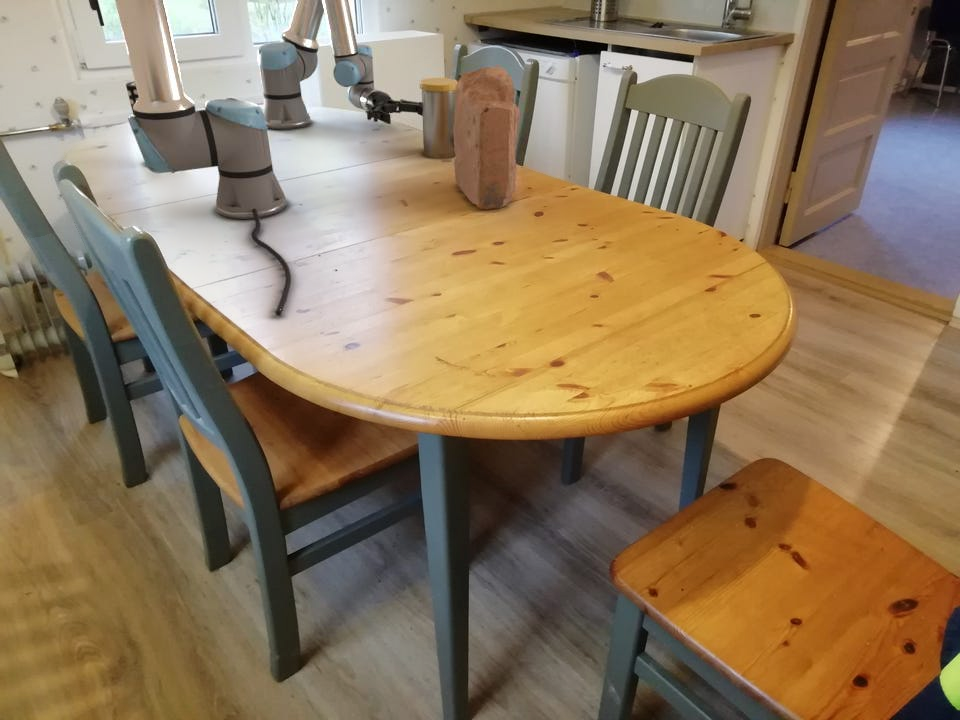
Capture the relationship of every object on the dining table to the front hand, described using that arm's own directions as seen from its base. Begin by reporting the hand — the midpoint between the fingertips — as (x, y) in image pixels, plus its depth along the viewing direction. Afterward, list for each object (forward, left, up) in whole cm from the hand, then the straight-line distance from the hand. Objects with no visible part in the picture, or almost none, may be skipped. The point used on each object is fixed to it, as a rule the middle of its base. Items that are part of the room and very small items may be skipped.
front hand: (132, 24), depth 171 cm
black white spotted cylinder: (-3, +1, -23) cm, 23 cm away
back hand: (-10, -69, -27) cm, 75 cm away
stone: (-66, -64, -34) cm, 98 cm away
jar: (-29, -70, -34) cm, 83 cm away
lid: (-29, -70, -14) cm, 77 cm away
